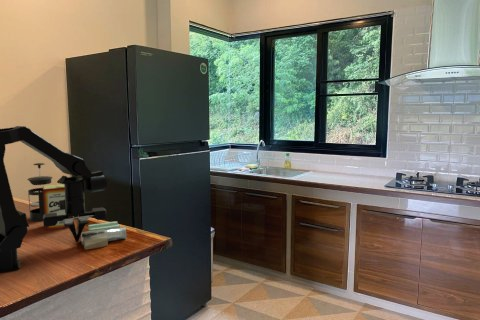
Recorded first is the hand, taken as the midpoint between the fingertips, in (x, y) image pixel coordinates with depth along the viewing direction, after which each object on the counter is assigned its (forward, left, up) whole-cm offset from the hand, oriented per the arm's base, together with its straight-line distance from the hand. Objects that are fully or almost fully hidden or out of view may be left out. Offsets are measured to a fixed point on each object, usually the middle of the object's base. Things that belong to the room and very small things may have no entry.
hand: (77, 241), depth 118 cm
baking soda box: (+26, +4, -2) cm, 26 cm away
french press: (+41, +9, -2) cm, 42 cm away
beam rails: (0, -5, -1) cm, 6 cm away
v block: (+9, -10, -1) cm, 13 cm away
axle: (0, -9, -2) cm, 9 cm away
